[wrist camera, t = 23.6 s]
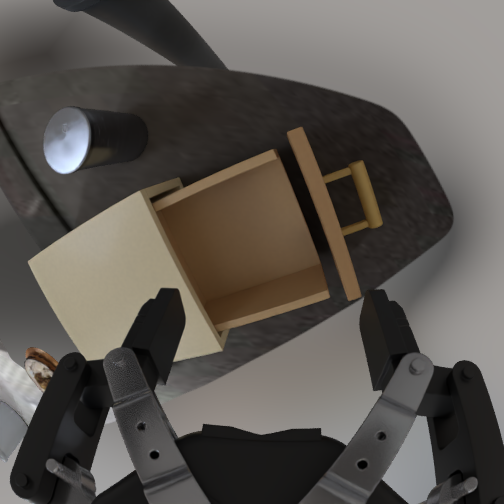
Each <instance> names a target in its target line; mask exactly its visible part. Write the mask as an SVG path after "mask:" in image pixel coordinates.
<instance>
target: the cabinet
mask: <svg viewBox="0 0 504 504" xmlns="http://www.w3.org/2000/svg"><path fill="white" fill-rule="evenodd" d="M183 188H184V187H183V185H182V182H181V180H180V178H179V177H178V178H175V179H172V180H169V181H166V182H163V183H160V184H157V185H154V186H151V187H148V188H145V189H142V190H139V191H137V192H136V193H134V194H132V195H130V196H129V197H127V198H125V199H123V200H122V201H120V202H118V203H116V204H115V205H113V206H111V207H110V208H108V209H106V210H105V211H103V212H101V213H100V214H98V215H96V216H95V217H93V218H91V219H90V220H88V221H87V222H85V223H83V224H82V225H80V226H79V227H77V228H76V229H74V230H72V231H71V232H69V233H68V234H66V235H65V236H63V237H62V238H60V239H59V240H57V241H56V242H54V243H53V244H52V245H50V246H49V247H47V248H46V249H44V250H43V251H42V252H40V253H39V254H37V255H36V256H34V257H33V258H32V259H30V260H29V261H28V264H29V266H30V268H31V270H32V272H33V274H34V276H35V277H36V279H37V281H38V283H39V285H40V287H41V289H42V291H43V293H44V295H45V296H46V298H47V300H48V302H49V303H50V305H51V307H52V309H53V310H54V312H55V314H56V315H57V317H58V319H59V320H60V322H61V324H62V325H63V327H64V328H65V330H66V332H67V333H68V335H69V336H70V338H71V339H72V341H73V342H74V344H75V345H76V347H77V348H78V350H79V351H80V352H81V354H82V355H83V356H84V357H85V359H86V360H87V361H90V360H99V359H104V358H105V356H106V355H107V354H108V353H109V352H110V351H111V350H113V349H115V348H119V347H121V345H122V343H123V341H124V339H125V338H126V336H127V334H128V332H129V330H130V328H131V326H132V324H133V323H134V320H135V318H136V316H138V312H139V310H140V309H141V307H142V305H143V304H144V303H146V302H147V301H148V300H149V299H150V298H152V299H155V298H156V296H157V294H158V292H159V290H160V288H178V289H179V291H180V295H181V299H182V303H183V307H184V311H185V315H186V324H185V329H184V331H183V334H182V337H181V340H180V343H179V346H178V349H177V352H176V355H175V358H174V361H179V360H184V359H189V358H193V357H198V356H202V355H207V354H211V353H215V352H219V351H223V349H224V345H225V342H226V339H227V335H228V332H229V329H227V330H223V331H219V332H217V331H216V329H215V327H214V326H213V324H212V322H211V320H210V318H209V317H208V315H207V313H206V311H205V309H204V307H203V306H202V304H201V302H200V300H199V298H198V296H197V294H196V293H195V291H194V289H193V287H192V285H191V283H190V281H189V279H188V277H187V275H186V273H185V271H184V270H183V268H182V266H181V264H180V262H179V260H178V258H177V256H176V254H175V252H174V250H173V248H172V246H171V244H170V242H169V240H168V238H167V235H166V233H165V231H164V229H163V227H162V225H161V223H160V221H159V219H158V217H157V215H156V212H155V210H154V208H153V206H152V203H154V202H156V201H158V200H160V199H162V198H164V197H166V196H168V195H170V194H172V193H174V192H176V191H178V190H180V189H183ZM174 361H173V362H174Z"/></svg>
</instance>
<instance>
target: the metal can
mask: <svg viewBox="0 0 504 504" xmlns="http://www.w3.org/2000/svg"><path fill="white" fill-rule="evenodd" d="M147 141H148V130H147V127H146V124H145V123H144V121H143V120H142V119H141V118H140V117H138V116H137V115H134V114H128V113H120V112H112V111H104V110H95V109H85V108H80V107H75V106H68V107H64V108H62V109H60V110H59V111H57V112H56V113H55V114H54V115H53V117H52V118H51V119H50V121H49V123H48V125H47V127H46V130H45V134H44V140H43V148H44V154H45V158H46V160H47V162H48V164H49V165H50V167H51V168H52V169H53V170H54V171H56V172H58V173H60V174H70V173H74V172H76V171H79V170H84V169H89V168H94V167H100V166H105V165H111V164H117V163H123V162H129V161H133V160H135V159H136V158H138V157H139V156H140V155H141V154H142V153H143V151H144V149H145V148H146V145H147Z"/></svg>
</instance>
